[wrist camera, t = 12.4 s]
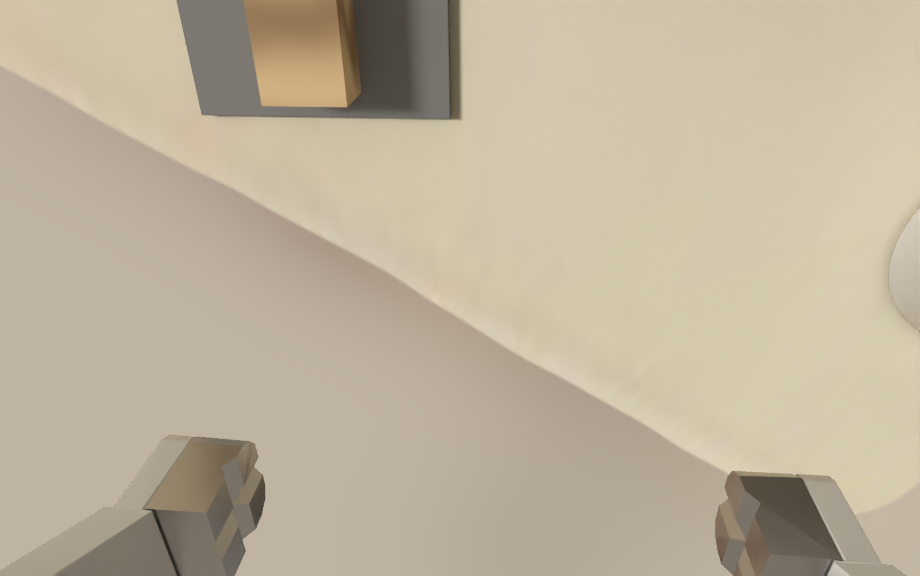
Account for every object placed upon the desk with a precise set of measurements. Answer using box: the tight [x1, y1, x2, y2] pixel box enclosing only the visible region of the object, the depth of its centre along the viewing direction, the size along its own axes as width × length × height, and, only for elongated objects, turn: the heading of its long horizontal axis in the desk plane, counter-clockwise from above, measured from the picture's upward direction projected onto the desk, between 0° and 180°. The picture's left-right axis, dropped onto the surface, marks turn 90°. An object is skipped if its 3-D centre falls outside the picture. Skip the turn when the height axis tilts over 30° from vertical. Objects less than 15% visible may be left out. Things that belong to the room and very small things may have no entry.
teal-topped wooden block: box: [243, 0, 361, 107], centre depth 34 cm, size 9×5×4 cm, turn 1°
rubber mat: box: [177, 0, 451, 119], centre depth 36 cm, size 16×12×1 cm
